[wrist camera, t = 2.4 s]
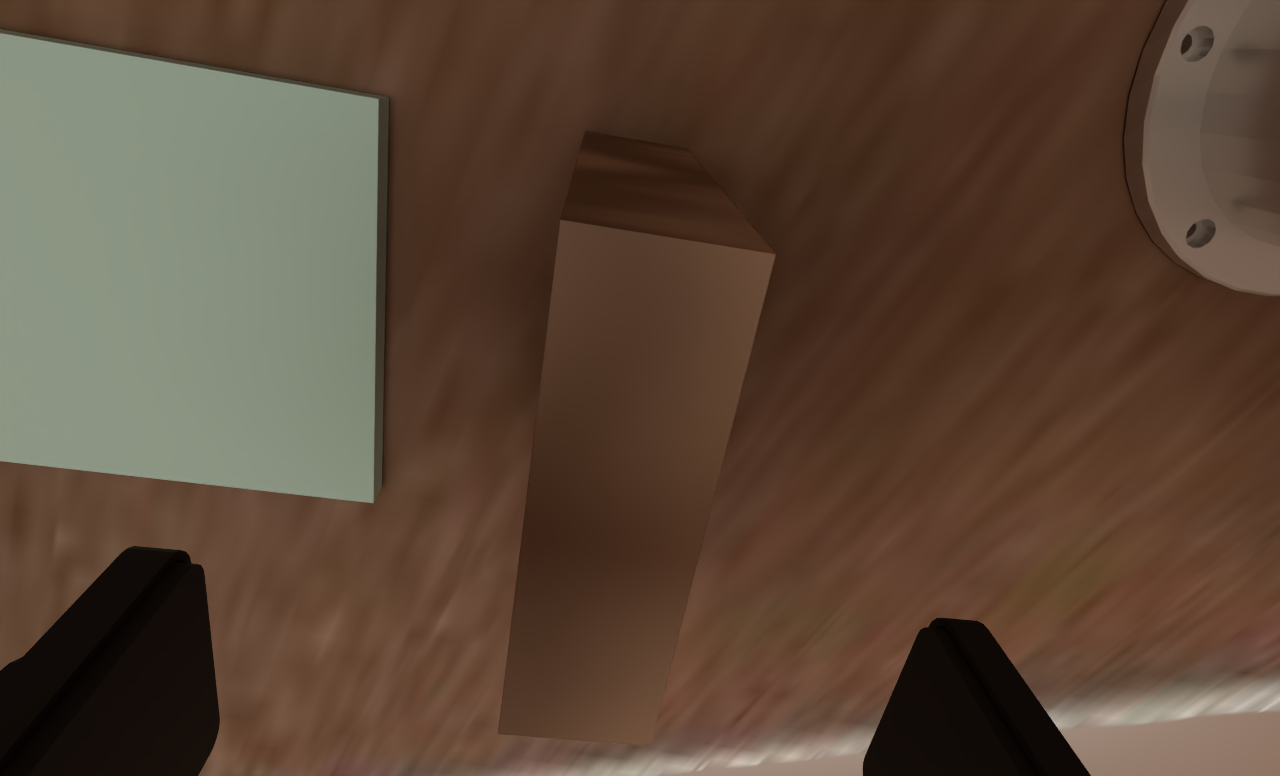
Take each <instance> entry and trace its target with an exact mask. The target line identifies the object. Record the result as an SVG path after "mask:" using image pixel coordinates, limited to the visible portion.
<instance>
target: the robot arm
mask: <svg viewBox="0 0 1280 776" xmlns="http://www.w3.org/2000/svg"><path fill="white" fill-rule="evenodd" d="M1124 151H1125V167H1126V179H1127V183H1128V186H1129V190H1130V193H1131V197H1132V200H1133V204H1134V207H1135V211H1136V213H1137V215H1138V217H1139V218H1140V220H1141V222H1142V224H1143V225H1144V227H1145V229H1146V231H1147V232H1148V234H1149V236H1150V237H1151V239H1152V241H1153V242H1154V243H1155V244H1156V245H1157V246H1158V247H1159V248H1160V249H1161V250H1162V251H1163V252H1164V253H1165V254H1166V255H1167V256H1168V257H1169V258H1170V259H1171V260H1172V261H1173V262H1174V263H1176V264H1178V265H1180V266H1181V267H1183V268H1185V269H1186V270H1188V271H1190V272H1192V273H1193V274H1195V275H1197V276H1199V277H1200V278H1203V279H1206V280H1208V281H1211V282H1214V283H1217V284H1220V285H1223V286H1225V287H1228V288H1230V289H1233V290H1236V291H1241V292H1247V293H1253V294H1259V295H1265V296H1280V0H1167V1H1166V3H1165V4H1164V7H1163V9H1162V11H1161V13H1160V15H1159V17H1158V19H1157V22H1156V24H1155V26H1154V28H1153V30H1152V32H1151V34H1150V37H1149V39H1148V41H1147V43H1146V45H1145V47H1144V49H1143V52H1142V55H1141V59H1140V62H1139V65H1138V69H1137V72H1136V75H1135V79H1134V82H1133V85H1132V89H1131V92H1130V95H1129V102H1128V110H1127V118H1126V126H1125V134H1124ZM219 724H220V717H219V707H218V698H217V688H216V679H215V669H214V660H213V650H212V641H211V631H210V622H209V613H208V603H207V594H206V584H205V575H204V570H203V568H202V566H201V565H198V564H191V560H190V556H189V555H188V554H187V552H185V551H182V550H172V549H161V548H149V547H138V546H133V547H130V548H127V549H126V550H125V551H123V552H122V553H121V554H120V555H119V556H118V557H117V558H116V559H115V560H114V561H113V562H112V563H111V564H110V566H109V567H108V568H107V569H106V570H105V571H104V572H103V573H102V574H101V575H100V576H99V577H98V578H97V579H96V580H95V581H94V582H93V583H92V585H91V586H90V587H89V588H88V589H87V590H86V591H85V592H84V593H83V594H82V595H81V596H80V597H79V598H78V599H77V600H76V601H75V602H74V604H73V605H72V606H71V607H70V608H69V609H68V610H67V611H66V612H65V613H64V614H63V615H62V616H61V617H60V618H59V619H58V620H57V621H56V623H55V624H54V625H53V626H52V627H51V628H50V629H49V630H48V631H47V632H46V633H45V634H44V635H43V636H42V637H41V638H40V639H39V640H38V642H37V643H36V644H35V645H34V646H33V647H32V648H31V649H30V650H29V651H28V652H27V653H26V654H25V655H24V656H23V657H22V658H19V659H17V660H15V661H13V662H11V663H9V664H8V665H7V666H6V667H4V668H3V669H2V670H1V671H0V776H198V775H199V773H200V771H201V770H202V768H203V766H204V764H205V762H206V760H207V759H208V757H209V755H210V753H211V751H212V749H213V747H214V744H215V741H216V738H217V734H218V730H219ZM863 776H1091V775H1090V774H1089V772H1088V771H1087V770H1086V768H1085V767H1084V765H1083V764H1082V763H1081V761H1080V760H1079V758H1078V757H1077V755H1076V754H1075V752H1074V751H1073V750H1072V748H1071V747H1070V745H1069V744H1068V742H1067V741H1066V740H1065V738H1064V737H1063V735H1062V734H1061V732H1060V731H1059V730H1058V728H1057V727H1056V725H1055V724H1054V722H1053V721H1052V720H1051V718H1050V717H1049V715H1048V714H1047V712H1046V711H1045V710H1044V708H1043V707H1042V705H1041V704H1040V702H1039V701H1038V700H1037V698H1036V697H1035V695H1034V694H1033V692H1032V691H1031V690H1030V688H1029V687H1028V685H1027V684H1026V682H1025V681H1024V680H1023V678H1022V677H1021V675H1020V674H1019V672H1018V671H1017V670H1016V668H1015V667H1014V665H1013V664H1012V662H1011V661H1010V660H1009V658H1008V657H1007V655H1006V654H1005V653H1004V651H1003V650H1002V648H1001V647H1000V645H999V644H998V643H997V641H996V640H995V638H994V637H993V635H992V634H991V633H990V631H989V630H988V629H987V628H986V626H985V625H984V624H982V623H980V622H978V621H971V620H960V619H949V618H936V619H935V620H933V621H932V622H931V624H930V625H929V627H928V628H923V629H921V630H920V631H919V633H918V635H917V637H916V639H915V642H914V644H913V646H912V649H911V651H910V653H909V656H908V658H907V660H906V663H905V665H904V667H903V670H902V672H901V674H900V676H899V679H898V681H897V683H896V686H895V688H894V690H893V693H892V695H891V697H890V700H889V702H888V704H887V707H886V709H885V711H884V713H883V716H882V718H881V720H880V723H879V725H878V727H877V730H876V732H875V734H874V737H873V739H872V741H871V744H870V746H869V748H868V751H867V753H866V755H865V758H864V762H863Z"/></svg>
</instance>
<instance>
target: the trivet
mask: <svg viewBox="0 0 1280 776" xmlns="http://www.w3.org/2000/svg"><path fill="white" fill-rule="evenodd" d="M388 130H389V97H387V96H381V95H375V94H369V93H364V92H358V91H352V90H347V89H341V88H335V87H329V86H324V85H318V84H312V83H307V82H301V81H295V80H289V79H284V78H278V77H272V76H266V75H261V74H255V73H249V72H244V71H238V70H232V69H226V68H221V67H215V66H209V65H203V64H198V63H192V62H186V61H181V60H175V59H169V58H163V57H158V56H152V55H146V54H141V53H135V52H129V51H123V50H118V49H112V48H106V47H100V46H95V45H89V44H83V43H78V42H72V41H66V40H60V39H55V38H49V37H43V36H38V35H32V34H26V33H20V32H15V31H9V30H3V29H0V461H5V462H14V463H23V464H31V465H40V466H49V467H58V468H67V469H76V470H84V471H93V472H102V473H111V474H120V475H129V476H138V477H146V478H155V479H164V480H173V481H182V482H191V483H199V484H208V485H217V486H226V487H235V488H244V489H253V490H261V491H270V492H279V493H288V494H297V495H306V496H314V497H323V498H332V499H341V500H350V501H359V502H368V503H374V501H375V499H376V497H377V495H378V494H379V492H380V490H381V488H382V454H383V400H384V346H385V292H386V238H387V184H388Z"/></svg>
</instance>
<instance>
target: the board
mask: <svg viewBox="0 0 1280 776" xmlns="http://www.w3.org/2000/svg"><path fill="white" fill-rule="evenodd" d="M775 255H776V254H775V253H774V252H773V250H772V249H771V248H770V247H769V246H768V244H767V243H766V242H765V241H764V240H763V238H762V237H761V236H760V235H759V234H758V232H757V231H756V230H755V229H754V228H753V227H752V225H751V224H750V223H749V222H748V221H747V219H746V218H745V217H744V216H743V215H742V213H741V212H740V211H739V210H738V209H737V207H736V206H735V205H734V204H733V203H732V201H731V200H730V199H729V198H728V197H727V196H726V194H725V193H724V192H723V191H722V190H721V188H720V187H719V186H718V185H717V184H716V182H715V181H714V180H713V179H712V178H711V176H710V175H709V174H708V173H707V172H706V170H705V169H704V168H703V167H702V166H701V165H700V163H699V162H698V161H697V160H696V159H695V157H694V156H693V155H692V154H691V153H690V151H689V150H688V149H685V148H680V147H674V146H668V145H662V144H657V143H651V142H645V141H639V140H634V139H628V138H622V137H617V136H611V135H605V134H599V133H594V132H588V131H585V134H584V138H583V141H582V145H581V148H580V152H579V155H578V159H577V162H576V166H575V170H574V173H573V177H572V180H571V184H570V187H569V191H568V194H567V198H566V201H565V205H564V209H563V212H562V216H561V219H560V227H559V235H558V243H557V251H556V259H555V268H554V276H553V284H552V292H551V301H550V309H549V317H548V325H547V334H546V342H545V350H544V358H543V366H542V375H541V383H540V391H539V399H538V408H537V416H536V424H535V432H534V441H533V449H532V457H531V465H530V473H529V482H528V490H527V498H526V506H525V515H524V523H523V531H522V539H521V548H520V556H519V564H518V572H517V580H516V589H515V597H514V605H513V613H512V622H511V630H510V638H509V646H508V655H507V663H506V671H505V679H504V687H503V696H502V704H501V712H500V720H499V729H498V734H506V735H518V736H531V737H543V738H556V739H568V740H581V741H593V742H606V743H618V744H631V745H644V746H651V743H652V739H653V735H654V731H655V727H656V723H657V719H658V715H659V711H660V707H661V703H662V699H663V695H664V691H665V688H666V684H667V680H668V676H669V672H670V668H671V664H672V660H673V656H674V652H675V648H676V644H677V640H678V636H679V633H680V629H681V625H682V621H683V617H684V613H685V609H686V605H687V601H688V597H689V593H690V589H691V585H692V581H693V578H694V574H695V570H696V566H697V562H698V558H699V554H700V550H701V546H702V542H703V538H704V534H705V530H706V526H707V523H708V519H709V515H710V511H711V507H712V503H713V499H714V495H715V491H716V487H717V483H718V479H719V475H720V471H721V468H722V464H723V460H724V456H725V452H726V448H727V444H728V440H729V436H730V432H731V428H732V424H733V420H734V416H735V413H736V409H737V405H738V401H739V397H740V393H741V389H742V385H743V381H744V377H745V373H746V369H747V365H748V362H749V358H750V354H751V350H752V346H753V342H754V338H755V334H756V330H757V326H758V322H759V318H760V314H761V310H762V307H763V303H764V299H765V295H766V291H767V287H768V283H769V279H770V275H771V271H772V267H773V263H774V259H775Z"/></svg>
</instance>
